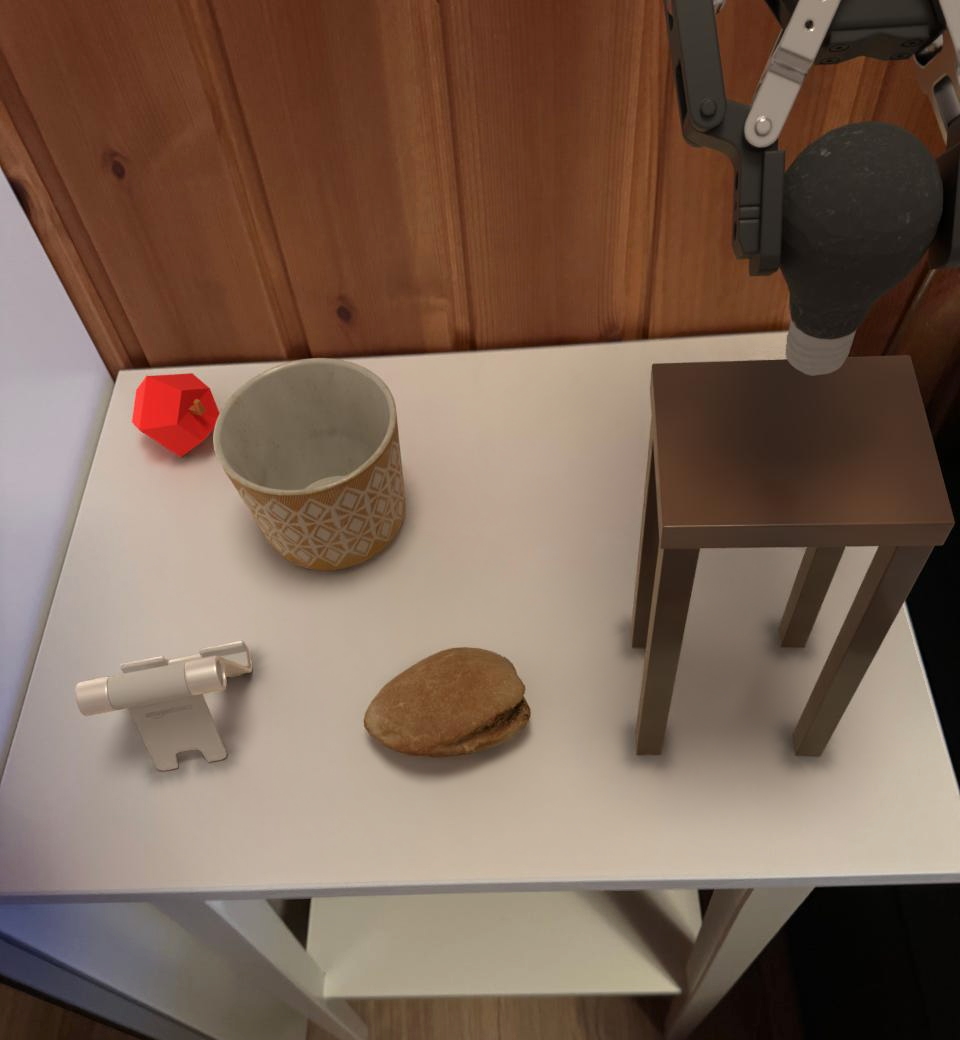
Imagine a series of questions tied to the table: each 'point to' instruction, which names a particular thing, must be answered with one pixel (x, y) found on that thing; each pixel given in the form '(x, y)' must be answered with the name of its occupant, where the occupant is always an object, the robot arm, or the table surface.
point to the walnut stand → (785, 509)
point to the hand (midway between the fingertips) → (856, 267)
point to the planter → (316, 460)
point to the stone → (450, 705)
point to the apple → (175, 411)
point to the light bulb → (852, 233)
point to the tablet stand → (169, 699)
